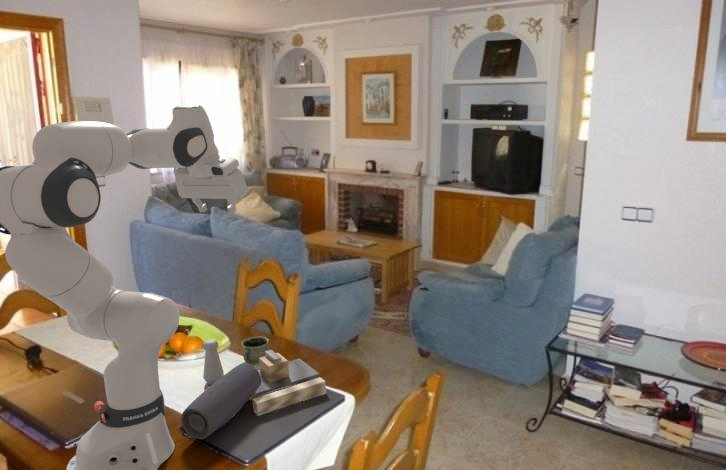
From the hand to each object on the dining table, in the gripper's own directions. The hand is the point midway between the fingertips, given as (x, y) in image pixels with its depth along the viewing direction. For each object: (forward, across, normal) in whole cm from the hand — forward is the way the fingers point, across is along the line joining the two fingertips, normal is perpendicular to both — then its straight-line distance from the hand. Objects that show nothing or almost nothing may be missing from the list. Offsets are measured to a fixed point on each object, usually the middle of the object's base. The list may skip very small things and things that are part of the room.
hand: (218, 211), depth 150 cm
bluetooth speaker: (+42, +11, -34) cm, 55 cm away
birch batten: (+46, +23, -22) cm, 56 cm away
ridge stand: (+49, +13, -13) cm, 52 cm away
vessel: (+52, 0, -2) cm, 52 cm away
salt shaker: (+47, -4, -18) cm, 51 cm away
